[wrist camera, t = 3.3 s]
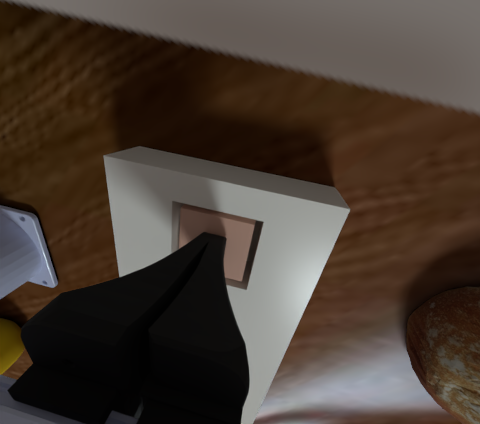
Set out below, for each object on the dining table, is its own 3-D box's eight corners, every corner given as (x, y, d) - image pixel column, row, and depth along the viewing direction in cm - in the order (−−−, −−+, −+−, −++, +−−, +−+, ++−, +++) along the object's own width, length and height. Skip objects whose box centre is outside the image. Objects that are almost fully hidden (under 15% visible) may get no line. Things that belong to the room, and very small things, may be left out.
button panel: (151, 379, 26) (137, 410, 23) (139, 146, 13) (103, 155, 10) (247, 408, 25) (243, 443, 22) (335, 187, 12) (350, 209, 9)
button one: (192, 243, 15) (177, 267, 13) (196, 192, 13) (179, 209, 11) (247, 256, 15) (241, 284, 13) (259, 206, 13) (254, 227, 11)
